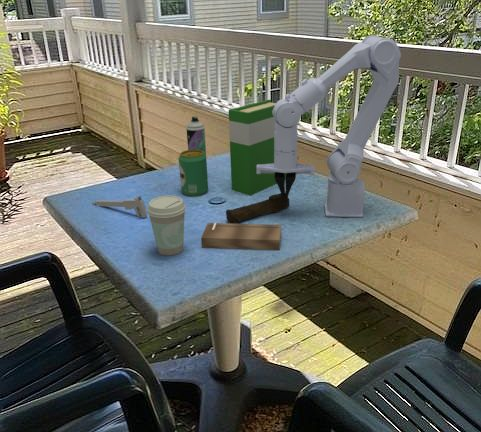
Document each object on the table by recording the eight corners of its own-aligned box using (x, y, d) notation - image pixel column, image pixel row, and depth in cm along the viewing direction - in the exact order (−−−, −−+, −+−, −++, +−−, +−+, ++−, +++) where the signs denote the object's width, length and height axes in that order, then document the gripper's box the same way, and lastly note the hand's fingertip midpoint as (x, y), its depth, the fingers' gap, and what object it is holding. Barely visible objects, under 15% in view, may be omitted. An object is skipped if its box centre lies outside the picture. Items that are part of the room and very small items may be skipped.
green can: (179, 189, 147) (175, 151, 142) (204, 185, 149) (202, 147, 144) (184, 198, 140) (181, 158, 135) (211, 194, 142) (208, 155, 137)
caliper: (147, 218, 129) (144, 196, 126) (144, 220, 128) (141, 198, 125) (94, 203, 139) (91, 183, 136) (91, 205, 138) (88, 184, 135)
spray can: (192, 175, 157) (188, 114, 149) (209, 176, 156) (205, 114, 148) (188, 181, 152) (183, 118, 144) (205, 182, 151) (201, 118, 143)
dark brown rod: (232, 227, 122) (232, 210, 120) (225, 221, 125) (224, 205, 123) (294, 211, 130) (295, 195, 128) (286, 206, 133) (286, 190, 131)
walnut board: (281, 234, 117) (281, 224, 116) (279, 249, 110) (279, 239, 109) (208, 232, 119) (207, 222, 118) (201, 247, 112) (201, 237, 111)
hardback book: (269, 174, 156) (268, 99, 146) (287, 179, 152) (288, 102, 142) (231, 190, 145) (228, 109, 135) (250, 195, 140) (248, 113, 130)
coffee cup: (157, 262, 106) (151, 212, 101) (148, 245, 114) (142, 198, 109) (194, 253, 109) (190, 205, 104) (183, 238, 117) (178, 192, 112)
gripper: (314, 144, 123) (312, 194, 128) (258, 144, 124) (258, 193, 130) (315, 153, 116) (313, 205, 122) (255, 152, 118) (256, 203, 124)
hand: (284, 199), depth 126 cm, fingers closed
